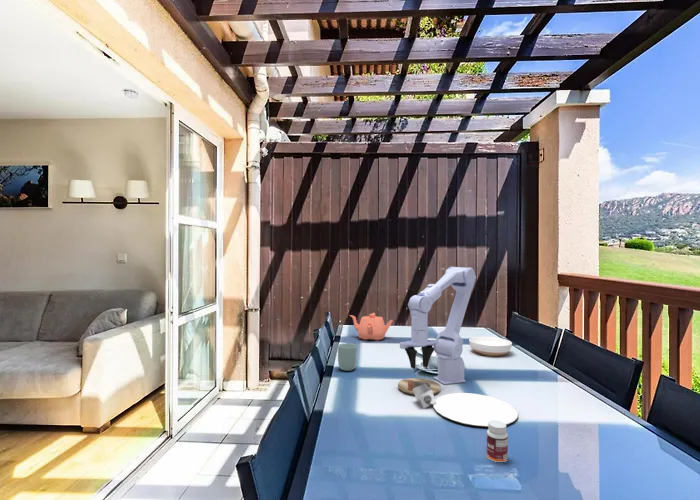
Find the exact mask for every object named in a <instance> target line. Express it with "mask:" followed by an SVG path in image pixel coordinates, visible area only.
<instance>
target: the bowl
mask: <svg viewBox="0 0 700 500" xmlns="http://www.w3.org/2000/svg"><path fill="white" fill-rule="evenodd" d="M468 340H469V341H468V342H469V346H470V348H471V349H472V350H473V351H474V352H476V353H478V354H479V355H483V356H487V357H499V356H503V355H506V354H508V353H509V352H510V351H511V350H512V346H513V342H512V341H510V340H509V339H505V338H501V337H494V336H472V337H470V338H469V339H468Z"/></svg>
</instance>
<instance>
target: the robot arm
mask: <svg viewBox="0 0 700 500" xmlns="http://www.w3.org/2000/svg"><path fill="white" fill-rule="evenodd" d="M476 278H477V276H476V272H475V270H474V268H473V267H461V266H449V267H448V268H447V269H445V273H444V275H442V277H440V278H439V280H438V281H437V282H435V284H434V283H428V284H427V285H426V287H425V288H424V289H423V290H422V291H420V292H419V293H418V294H415V295H412V296H411V297H410V298H409V301H408V303H407V306H408V309H409V313H410V316H411V320H410V321H411V326H410V328H411V329H410V331H411V335H410V337H411V338H410V339H411V340H407V341H402V342H401V341H400V342H399V349H402V350H404V351H405V353H406V354H407V358H408V360H409V364H410V368H411V369H413V370H416V363H417V362H416V361H417V360H416V359H417V353H418V350H417V349H416V348H421V352H422V366H423V367H424V368H428V365H429V362H430V360H431V358H432V355H433V353H436V357H437V375H435V376H433V377H432V378H433V379H434V380H436V381H438V383H441V384H443V385H452V384H458V383H466V380H465V362H464V361H465V360H464V359H463V358H462V357H461V355H462V353H463V344H464V340H463V338H462V336H461V335H460V331H461V328H462V325H463V321H464V317H465V313H466V312H467V307H468V304H469V301H470V298H471V294H472V291H473V288H474V286H475V282H476ZM450 286H451V288H452V289H453V290H455V296H454V299H453V303H452V306H451V308H450V312H449V315H448V319H447V322H446V324H445V325H446V326H445V329H444V330H442V331H440V332H439V333H438V335H437V337H436V339H428V334H429V333H428V326H429V325H428V323H429V322H428V321H429V320H428V319H429V318H428V315H429V312H430V311H431V310H432V306H433V304H434V303H435V302H436V301H438V300H439V298H441V296H442V294H443V293H442V292H443V291H444V290H446V289H447V288H448V287H450Z"/></svg>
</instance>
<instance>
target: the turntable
mask: <svg viewBox="0 0 700 500" xmlns="http://www.w3.org/2000/svg"><path fill="white" fill-rule="evenodd" d="M424 383H425V384H426V385H427V386H428V387H429V388H430V389H431V390H432V392H433V395H435V394H438V393H439V392H441V387H442V386H441V385H440V383H439V382H437V381H434V380H431V379H426V378H419V377H417V378H415V377H413V378H412V377H411V378H410V377H409V378H405V379H402V380H399V381H398V382H397V388H398V389H399V390H400V391H402V392H404V393H406V394H410V395H415V394H414V392H413V389H414V388H416V387H418V386H420V385H422V384H424Z"/></svg>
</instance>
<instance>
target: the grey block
mask: <svg viewBox="0 0 700 500" xmlns="http://www.w3.org/2000/svg"><path fill="white" fill-rule="evenodd" d="M413 392H414V394H413V395H414V396H415V399H416V401H417V402H418V404H419V405H420V407H422V409H426V408H429V407H430V406H432V405H433V404H434V403H436V400H435V399H436V398H435V396H434V395H435V394H433V392H432V390H431V389H430V388H429V387H428V386H427V385H426V384H425V383H424V384H422V385H420V386H418V387H416V388H414V389H413Z"/></svg>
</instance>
